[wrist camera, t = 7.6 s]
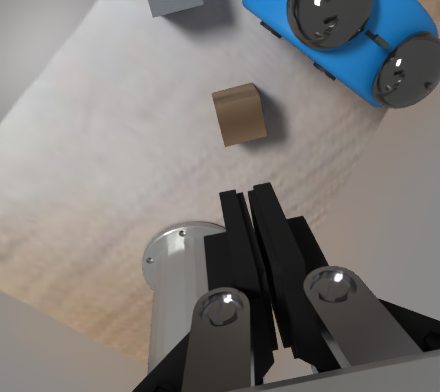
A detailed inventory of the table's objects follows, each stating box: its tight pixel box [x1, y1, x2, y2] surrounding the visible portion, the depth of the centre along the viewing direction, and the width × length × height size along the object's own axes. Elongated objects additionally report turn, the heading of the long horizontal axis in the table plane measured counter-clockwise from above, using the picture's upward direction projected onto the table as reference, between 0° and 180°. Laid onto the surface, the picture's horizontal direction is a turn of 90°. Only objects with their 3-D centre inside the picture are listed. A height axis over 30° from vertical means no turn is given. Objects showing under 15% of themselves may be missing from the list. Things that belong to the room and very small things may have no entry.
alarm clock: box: [242, 0, 440, 109], centre depth 28 cm, size 13×6×15 cm, turn 56°
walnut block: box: [212, 83, 267, 147], centre depth 36 cm, size 4×4×4 cm
